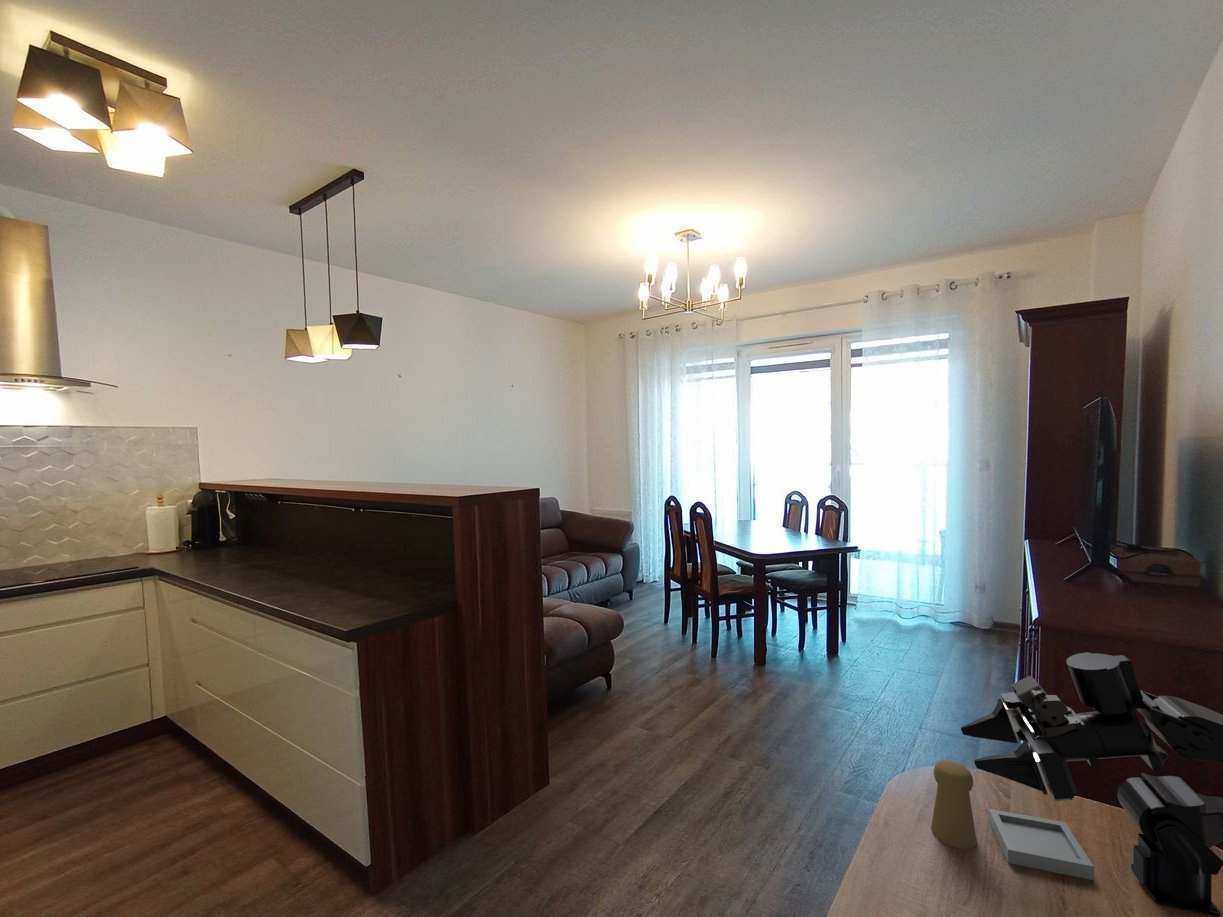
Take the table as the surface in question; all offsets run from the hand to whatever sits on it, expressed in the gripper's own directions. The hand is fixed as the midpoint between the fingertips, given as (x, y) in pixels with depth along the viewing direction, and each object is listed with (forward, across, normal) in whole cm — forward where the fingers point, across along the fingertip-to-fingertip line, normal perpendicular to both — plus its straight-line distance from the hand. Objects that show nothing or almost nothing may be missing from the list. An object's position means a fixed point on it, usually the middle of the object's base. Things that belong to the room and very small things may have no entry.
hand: (968, 746), depth 81 cm
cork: (+6, -2, +14) cm, 16 cm away
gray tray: (-4, -3, +18) cm, 18 cm away
